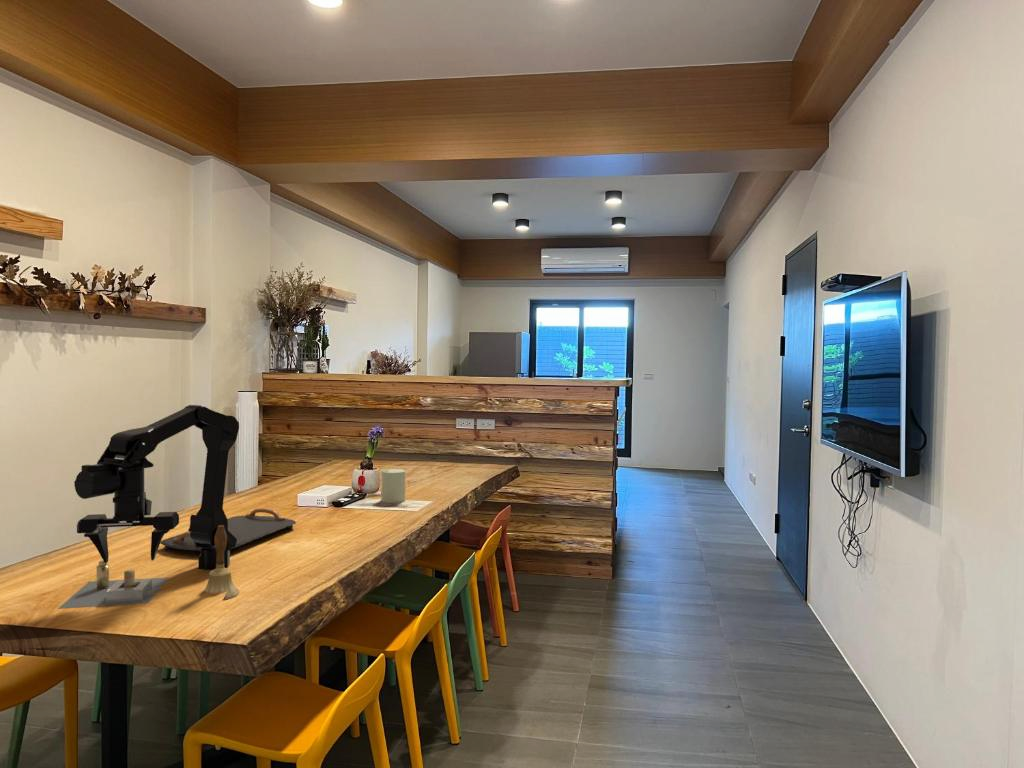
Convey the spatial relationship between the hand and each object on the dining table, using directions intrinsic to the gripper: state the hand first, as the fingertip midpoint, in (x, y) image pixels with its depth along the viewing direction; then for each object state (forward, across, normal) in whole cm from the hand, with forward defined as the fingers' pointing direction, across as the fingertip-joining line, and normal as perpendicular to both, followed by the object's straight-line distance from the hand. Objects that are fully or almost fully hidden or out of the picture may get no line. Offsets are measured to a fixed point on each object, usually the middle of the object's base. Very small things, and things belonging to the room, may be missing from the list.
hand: (129, 561), depth 146 cm
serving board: (+10, -13, -51) cm, 54 cm away
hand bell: (+10, -18, -2) cm, 20 cm away
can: (+10, -63, -98) cm, 117 cm away
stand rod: (+8, 0, 0) cm, 8 cm away
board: (+9, +4, -3) cm, 10 cm away
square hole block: (+8, 0, 0) cm, 8 cm away
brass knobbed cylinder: (+8, +8, -7) cm, 13 cm away
